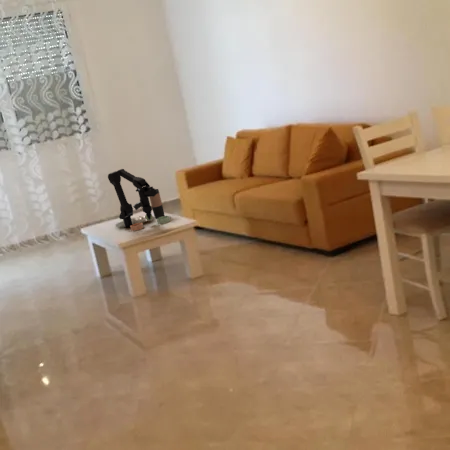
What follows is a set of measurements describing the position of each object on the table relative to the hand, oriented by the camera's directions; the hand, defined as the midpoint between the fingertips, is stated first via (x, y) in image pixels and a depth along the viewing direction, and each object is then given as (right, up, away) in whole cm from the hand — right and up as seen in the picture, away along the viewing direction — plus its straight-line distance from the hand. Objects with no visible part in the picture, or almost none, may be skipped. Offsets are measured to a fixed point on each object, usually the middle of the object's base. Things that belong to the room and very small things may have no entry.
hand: (149, 218), depth 481 cm
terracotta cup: (-8, -7, 0) cm, 11 cm away
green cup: (+10, -2, +3) cm, 11 cm away
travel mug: (+5, +1, +20) cm, 21 cm away
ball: (0, +1, 0) cm, 1 cm away
